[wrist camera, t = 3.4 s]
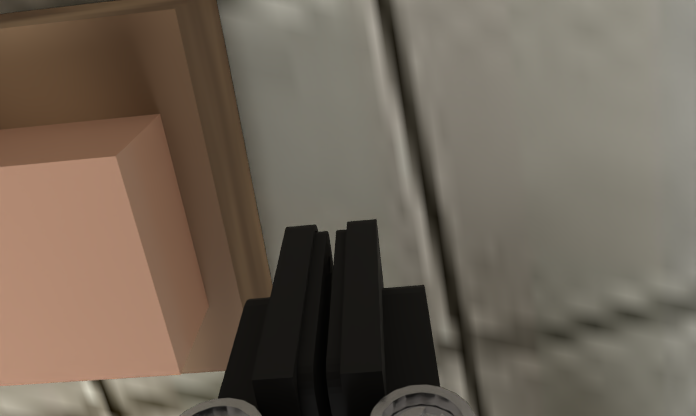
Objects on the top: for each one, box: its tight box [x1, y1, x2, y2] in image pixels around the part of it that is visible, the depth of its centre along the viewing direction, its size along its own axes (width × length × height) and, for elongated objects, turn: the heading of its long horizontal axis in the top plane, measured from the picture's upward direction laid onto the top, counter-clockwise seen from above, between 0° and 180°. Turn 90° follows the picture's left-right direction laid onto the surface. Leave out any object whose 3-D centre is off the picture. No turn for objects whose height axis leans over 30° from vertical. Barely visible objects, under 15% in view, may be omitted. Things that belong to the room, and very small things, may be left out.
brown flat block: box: [0, 0, 272, 374], centre depth 19 cm, size 14×11×4 cm
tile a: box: [0, 114, 209, 386], centre depth 16 cm, size 6×6×3 cm
